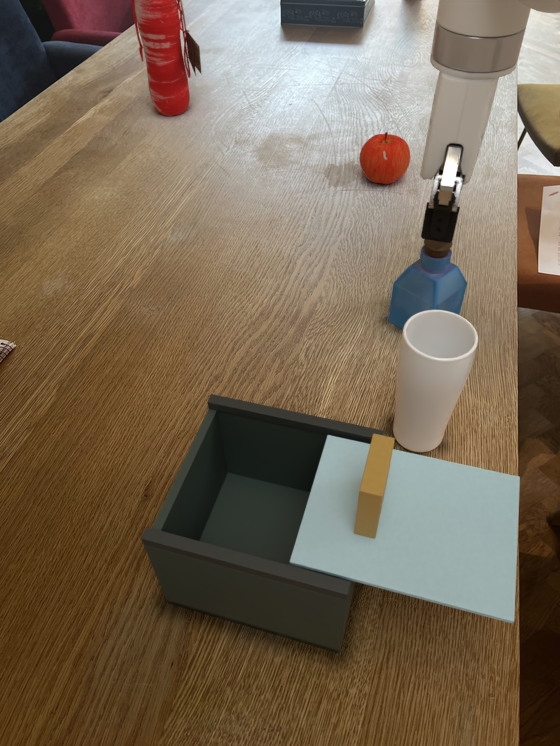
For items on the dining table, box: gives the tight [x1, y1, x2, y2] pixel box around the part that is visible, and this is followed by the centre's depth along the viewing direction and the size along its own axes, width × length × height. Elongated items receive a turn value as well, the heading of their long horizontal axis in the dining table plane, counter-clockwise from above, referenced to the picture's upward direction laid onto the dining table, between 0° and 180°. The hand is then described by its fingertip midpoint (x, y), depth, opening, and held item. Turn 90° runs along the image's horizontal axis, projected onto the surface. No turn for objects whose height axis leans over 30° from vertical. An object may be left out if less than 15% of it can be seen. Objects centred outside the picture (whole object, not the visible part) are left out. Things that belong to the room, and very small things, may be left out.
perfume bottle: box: [387, 239, 468, 331], centre depth 73 cm, size 6×6×12 cm
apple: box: [358, 131, 411, 185], centre depth 98 cm, size 8×8×8 cm
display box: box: [140, 393, 385, 654], centre depth 53 cm, size 16×15×12 cm
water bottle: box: [130, 0, 202, 117], centre depth 111 cm, size 12×8×25 cm, turn 82°
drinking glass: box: [392, 310, 479, 453], centre depth 60 cm, size 7×7×15 cm
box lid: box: [290, 434, 521, 624], centre depth 44 cm, size 16×12×6 cm
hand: (441, 213), depth 66 cm, fingers open, 9 cm apart
